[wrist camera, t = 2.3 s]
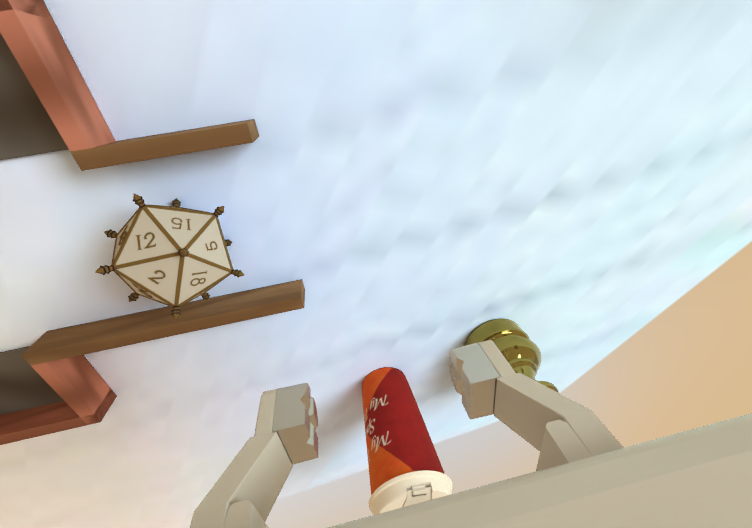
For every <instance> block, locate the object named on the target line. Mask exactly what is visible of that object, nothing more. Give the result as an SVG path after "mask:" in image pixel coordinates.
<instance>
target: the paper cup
mask: <svg viewBox="0 0 752 528" xmlns="http://www.w3.org/2000/svg"><path fill="white" fill-rule="evenodd" d="M362 397H363V409H364V421H365V432H366V442H367V453H368V464H369V474H370V485H371V497H370V500H369V508H370V510H371V511H372V513H373V514H374V515H377V514H380V513H384V512H388V511H391V510H395V509H399V508H402V507H406V506H410V505H414V504H417V503H421V502H425V501H428V500H432V499H436V498H440V497H443V496H447V495H451V492H452V482H451V480H450V478H449V477H448V476H446V475H445V474H444V471H443V468H442V466H441V463H440V461H439V458H438V456H437V453H436V451H435V448H434V446H433V443H432V441H431V438H430V436H429V433H428V431H427V428H426V426H425V423H424V421H423V418H422V416H421V413H420V411H419V408H418V406H417V403H416V401H415V398H414V396H413V393H412V391H411V388H410V386H409V384H408V381H407V379H406V377H405V375H404V374H403V372H402V371H400V370H399V369H396V368H392V367H384V368H380V369H377V370H374V371H372V372H371V373H369V374H368V375H367V376H366V377H365V379H364V381H363V383H362Z"/></svg>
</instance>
